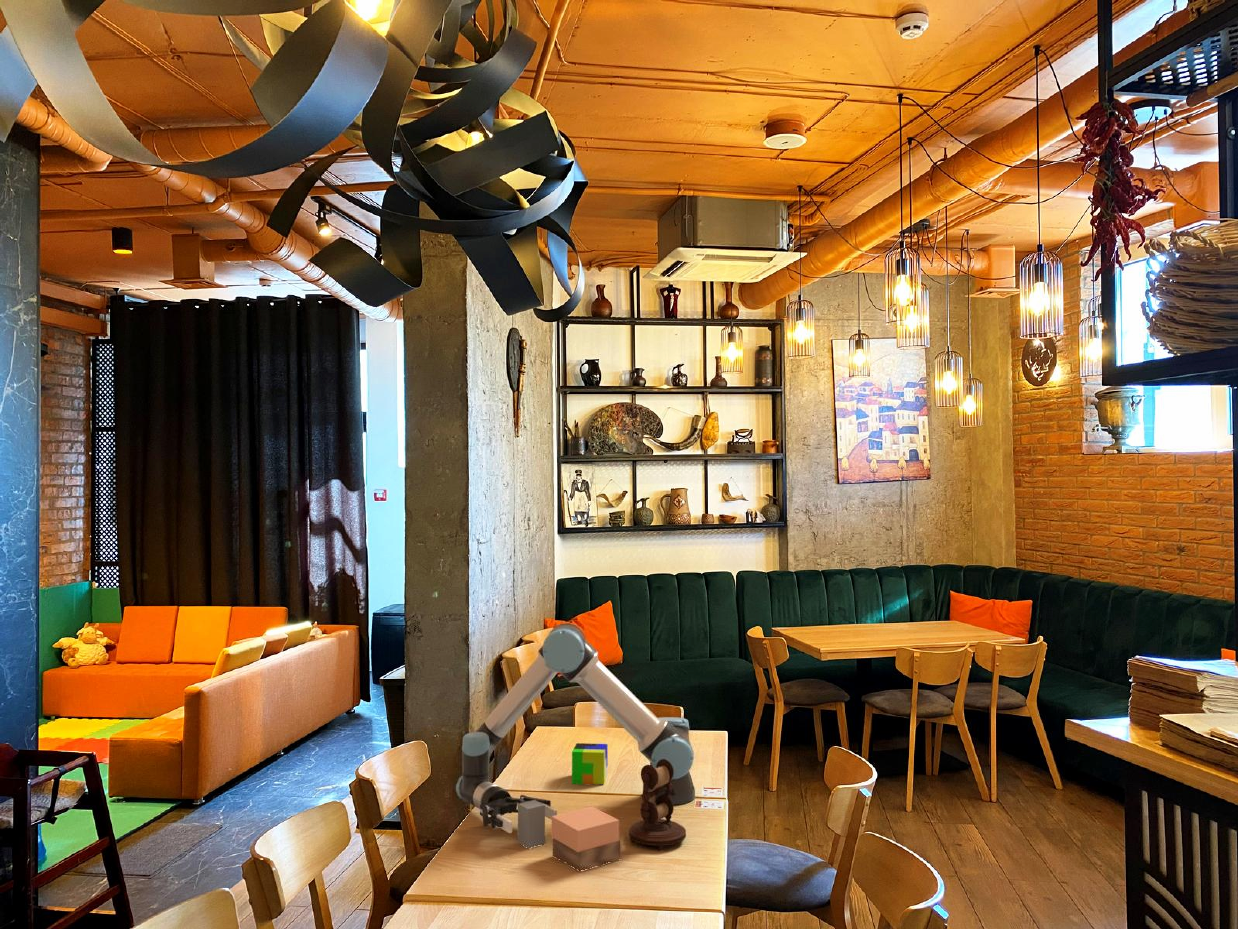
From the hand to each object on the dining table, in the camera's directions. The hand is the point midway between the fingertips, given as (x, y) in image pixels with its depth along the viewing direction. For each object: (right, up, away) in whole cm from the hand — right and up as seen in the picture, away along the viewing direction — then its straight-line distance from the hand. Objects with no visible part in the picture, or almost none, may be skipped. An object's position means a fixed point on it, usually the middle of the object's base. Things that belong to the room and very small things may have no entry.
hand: (533, 821), depth 225 cm
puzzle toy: (+13, -9, +54) cm, 56 cm away
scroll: (+32, -6, +3) cm, 32 cm away
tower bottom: (+14, -6, -8) cm, 17 cm away
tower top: (+13, -1, -8) cm, 16 cm away
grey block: (-1, -6, +1) cm, 6 cm away
